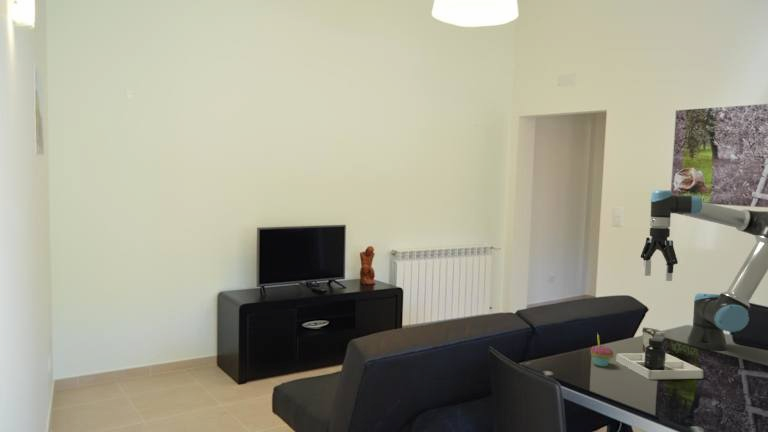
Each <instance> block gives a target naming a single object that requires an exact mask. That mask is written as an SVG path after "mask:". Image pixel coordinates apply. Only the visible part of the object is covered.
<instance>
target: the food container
mask: <svg viewBox="0 0 768 432" xmlns="http://www.w3.org/2000/svg"><path fill="white" fill-rule="evenodd" d="M641 333H642V343H641V344H642V347H641V348H642V349H641V350H642V352H641V353H645V348H646V347H647V346H648V345H649V344H648V342H649V339H650V338H657V339H661V340H663V341H664V339H665V338H666V337H665V332H664V331H662V330H660V329H657V328H651V327H642V330H641Z"/></svg>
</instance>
